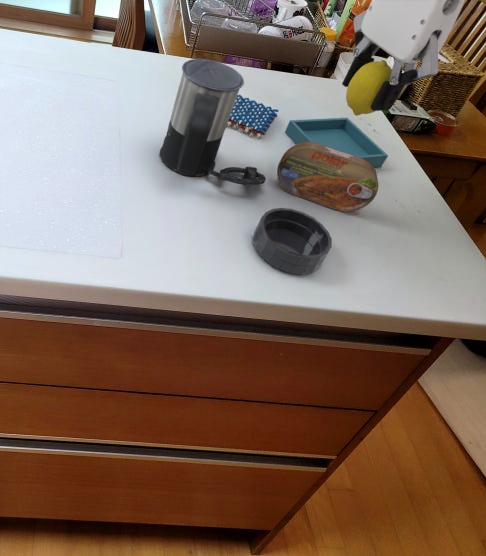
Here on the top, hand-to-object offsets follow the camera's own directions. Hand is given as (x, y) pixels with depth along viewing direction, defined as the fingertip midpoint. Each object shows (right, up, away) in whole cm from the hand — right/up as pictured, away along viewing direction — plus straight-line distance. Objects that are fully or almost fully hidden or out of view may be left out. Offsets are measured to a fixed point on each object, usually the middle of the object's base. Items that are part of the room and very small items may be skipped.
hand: (365, 96), depth 76 cm
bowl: (-11, -21, +2) cm, 24 cm away
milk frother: (-20, -8, +12) cm, 24 cm away
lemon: (-1, -2, +2) cm, 3 cm away
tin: (-3, -12, +12) cm, 17 cm away
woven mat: (-11, +4, +25) cm, 28 cm away
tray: (+4, -2, +23) cm, 24 cm away
